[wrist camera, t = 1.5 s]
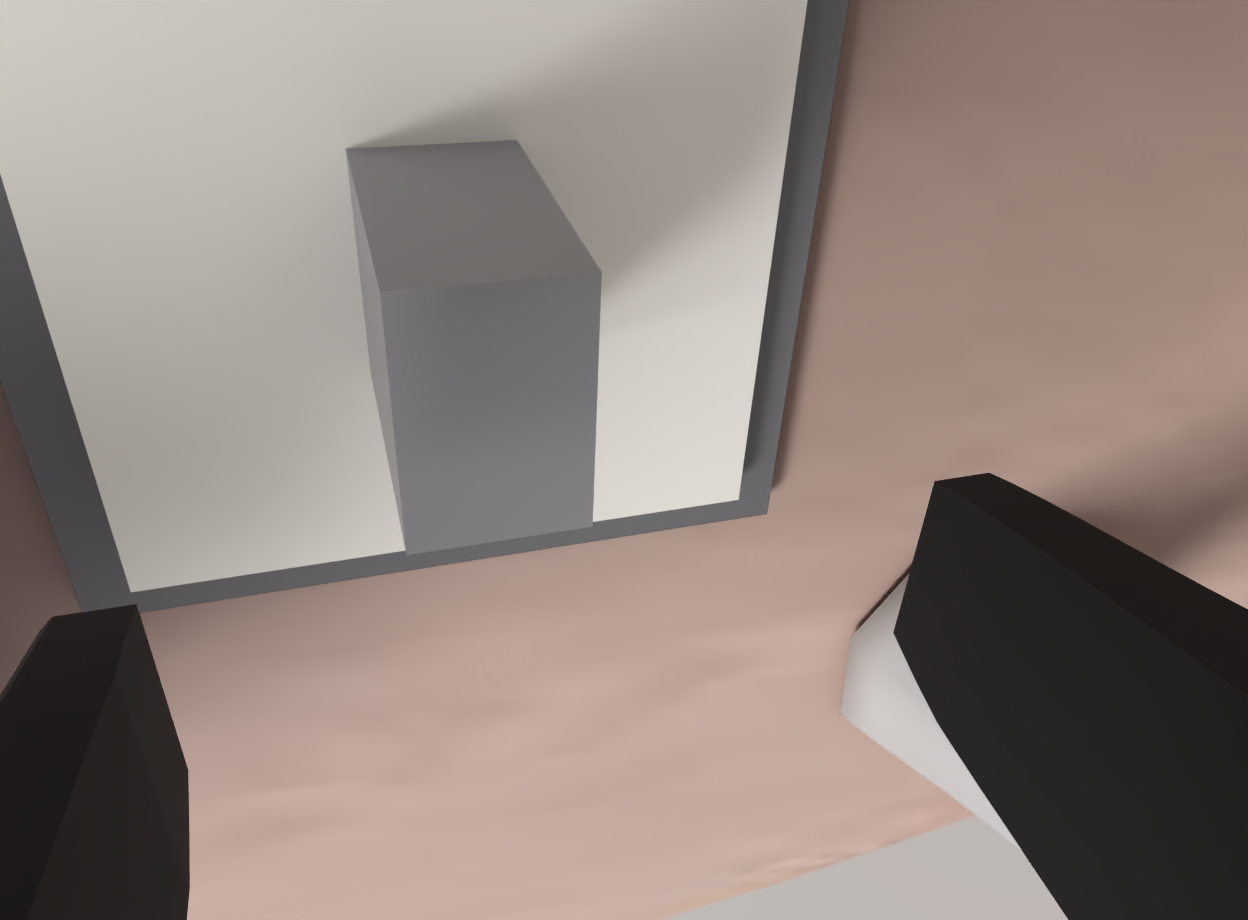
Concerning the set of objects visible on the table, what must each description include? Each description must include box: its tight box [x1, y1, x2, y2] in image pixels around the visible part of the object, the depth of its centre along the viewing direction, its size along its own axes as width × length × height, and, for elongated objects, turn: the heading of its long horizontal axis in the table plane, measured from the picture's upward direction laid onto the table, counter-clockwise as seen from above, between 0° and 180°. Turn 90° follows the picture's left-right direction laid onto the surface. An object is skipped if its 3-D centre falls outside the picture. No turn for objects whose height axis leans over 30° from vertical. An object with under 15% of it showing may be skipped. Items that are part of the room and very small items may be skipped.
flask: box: [840, 574, 1021, 850], centre depth 23 cm, size 7×7×10 cm
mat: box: [0, 0, 849, 613], centre depth 16 cm, size 13×13×1 cm
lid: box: [0, 0, 808, 592], centre depth 14 cm, size 11×11×5 cm
